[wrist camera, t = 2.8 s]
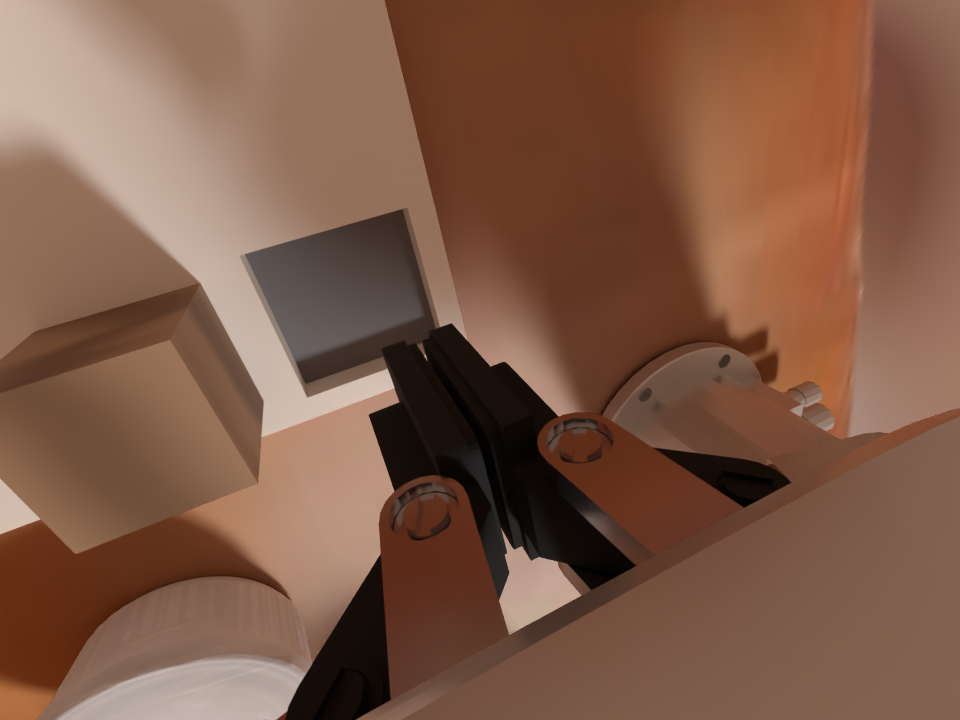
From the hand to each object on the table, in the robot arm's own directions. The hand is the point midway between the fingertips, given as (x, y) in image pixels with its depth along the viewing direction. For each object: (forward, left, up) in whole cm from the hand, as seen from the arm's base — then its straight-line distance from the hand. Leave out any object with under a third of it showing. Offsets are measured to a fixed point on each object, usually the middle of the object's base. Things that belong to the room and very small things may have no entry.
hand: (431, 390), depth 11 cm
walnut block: (+8, +1, -8) cm, 12 cm away
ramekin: (+14, +16, -10) cm, 23 cm away
